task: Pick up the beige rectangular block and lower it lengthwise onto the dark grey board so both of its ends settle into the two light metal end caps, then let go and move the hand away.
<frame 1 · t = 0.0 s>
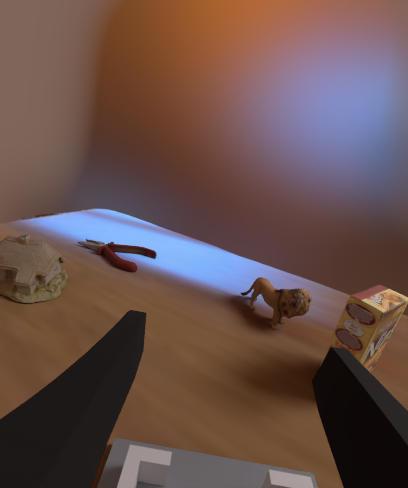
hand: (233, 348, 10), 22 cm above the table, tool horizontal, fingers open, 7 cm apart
pliers: (120, 255, 65), on the table
ceramic model: (27, 285, 46), on the table
lion figurine: (268, 316, 50), on the table
candy box: (338, 383, 37), on the table
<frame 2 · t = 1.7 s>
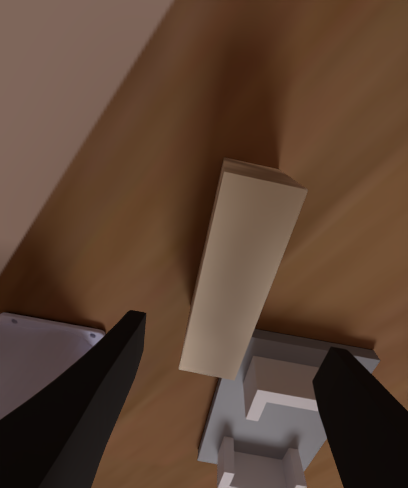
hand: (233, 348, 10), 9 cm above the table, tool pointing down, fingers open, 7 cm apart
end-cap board: (271, 408, 25), on the table
beige rectangular block: (228, 246, 18), on the table
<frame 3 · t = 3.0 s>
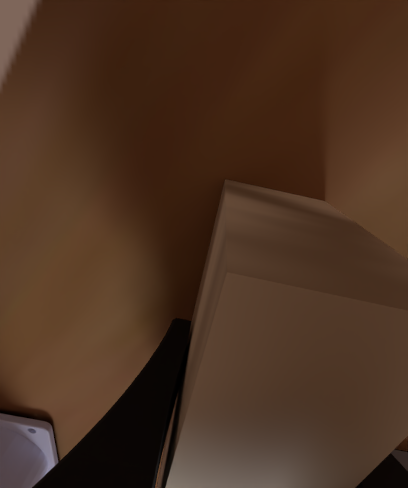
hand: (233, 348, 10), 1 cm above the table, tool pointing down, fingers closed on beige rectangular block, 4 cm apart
beige rectangular block: (231, 321, 11), on the table, touching gripper
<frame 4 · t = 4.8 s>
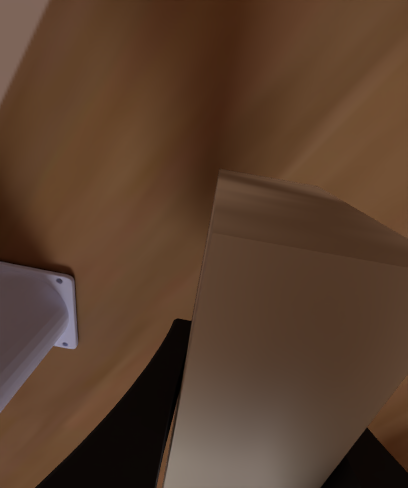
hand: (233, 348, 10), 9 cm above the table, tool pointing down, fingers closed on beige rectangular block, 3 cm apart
beige rectangular block: (232, 310, 11), point 7 cm above the table, touching gripper
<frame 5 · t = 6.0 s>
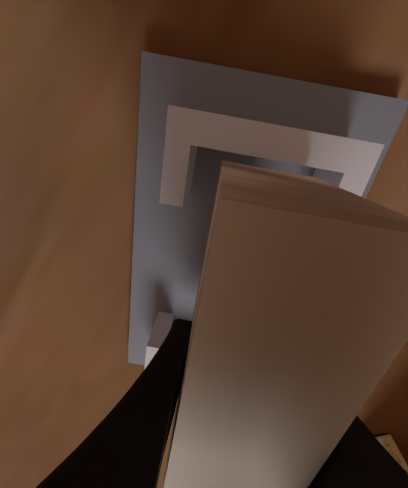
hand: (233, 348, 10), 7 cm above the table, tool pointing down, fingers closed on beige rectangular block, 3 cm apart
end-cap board: (228, 260, 16), on the table
beige rectangular block: (233, 302, 11), point 5 cm above the table, touching gripper
candy box: (376, 457, 24), on the table
when the fingers open (4 cm above the table, at t = 6.8 s): beige rectangular block stays where it is, resting on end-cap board.
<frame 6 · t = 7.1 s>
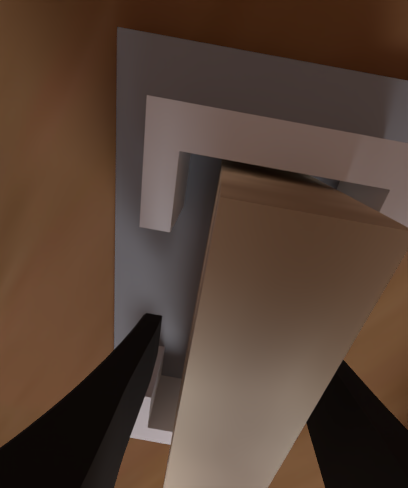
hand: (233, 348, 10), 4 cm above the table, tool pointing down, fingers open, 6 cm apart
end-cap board: (230, 286, 13), on the table
beige rectangular block: (233, 289, 12), point 1 cm above the table, touching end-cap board
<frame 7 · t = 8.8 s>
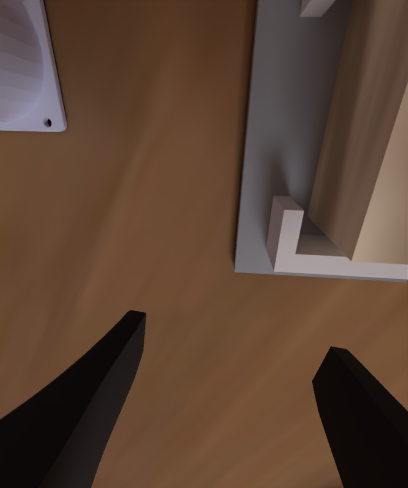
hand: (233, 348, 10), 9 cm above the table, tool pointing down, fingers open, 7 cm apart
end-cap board: (351, 120, 14), on the table
beige rectangular block: (363, 109, 13), point 1 cm above the table, touching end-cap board
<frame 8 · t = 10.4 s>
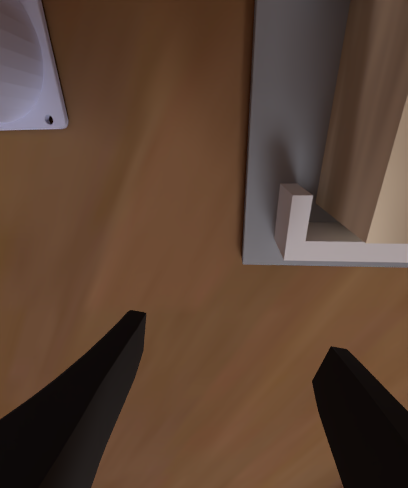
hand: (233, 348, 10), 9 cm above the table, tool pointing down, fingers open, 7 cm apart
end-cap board: (357, 102, 14), on the table
beige rectangular block: (370, 89, 13), point 1 cm above the table, touching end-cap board
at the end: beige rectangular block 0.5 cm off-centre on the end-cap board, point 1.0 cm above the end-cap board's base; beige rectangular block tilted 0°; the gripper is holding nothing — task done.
